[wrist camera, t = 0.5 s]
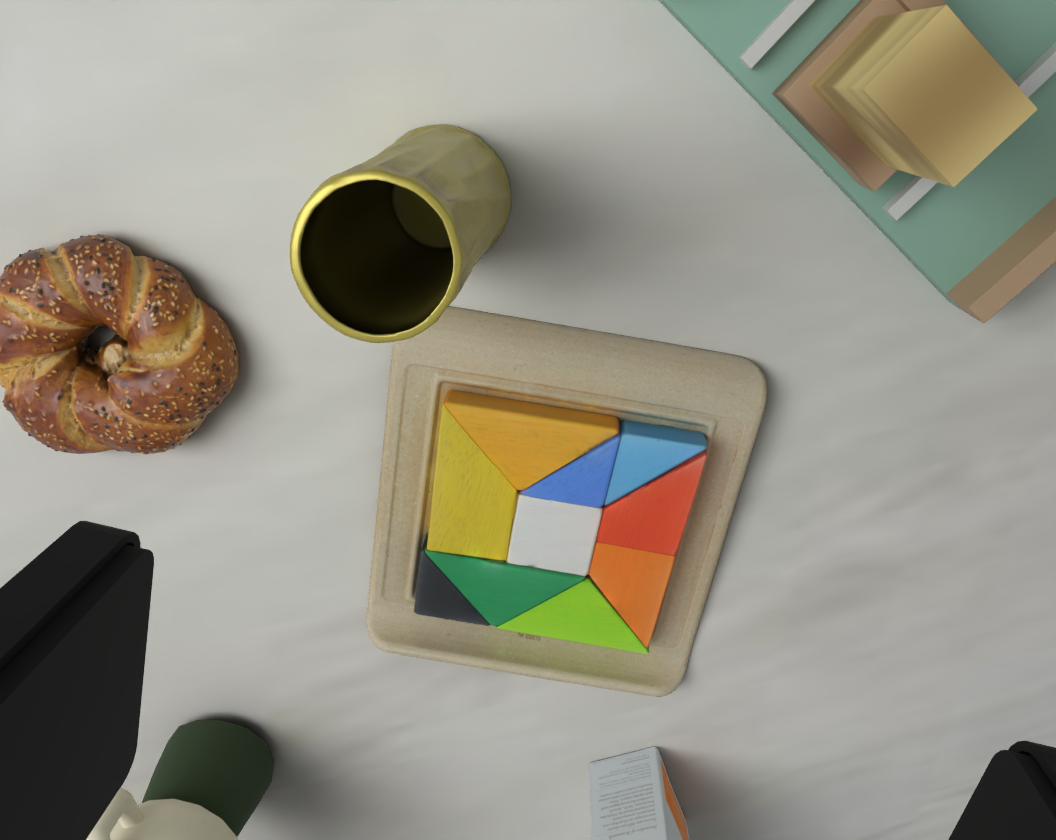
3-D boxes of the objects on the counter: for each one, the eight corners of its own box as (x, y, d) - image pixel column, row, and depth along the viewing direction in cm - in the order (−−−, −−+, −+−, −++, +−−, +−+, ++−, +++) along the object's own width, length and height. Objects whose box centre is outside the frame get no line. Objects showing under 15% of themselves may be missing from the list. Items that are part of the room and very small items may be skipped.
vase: (529, 152, 39) (504, 195, 26) (486, 283, 41) (443, 385, 28) (395, 104, 38) (300, 122, 25) (359, 238, 41) (253, 321, 27)
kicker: (758, 79, 36) (812, 82, 28) (875, -45, 34) (970, -82, 26) (872, 198, 38) (956, 235, 29) (990, 85, 36) (1116, 90, 27)
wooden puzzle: (367, 626, 49) (351, 666, 46) (403, 294, 42) (388, 314, 39) (679, 678, 49) (686, 722, 46) (767, 357, 42) (783, 381, 39)
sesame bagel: (250, 252, 42) (221, 268, 38) (242, 462, 46) (216, 495, 42) (-8, 211, 41) (-60, 224, 38) (8, 426, 45) (-38, 456, 42)
